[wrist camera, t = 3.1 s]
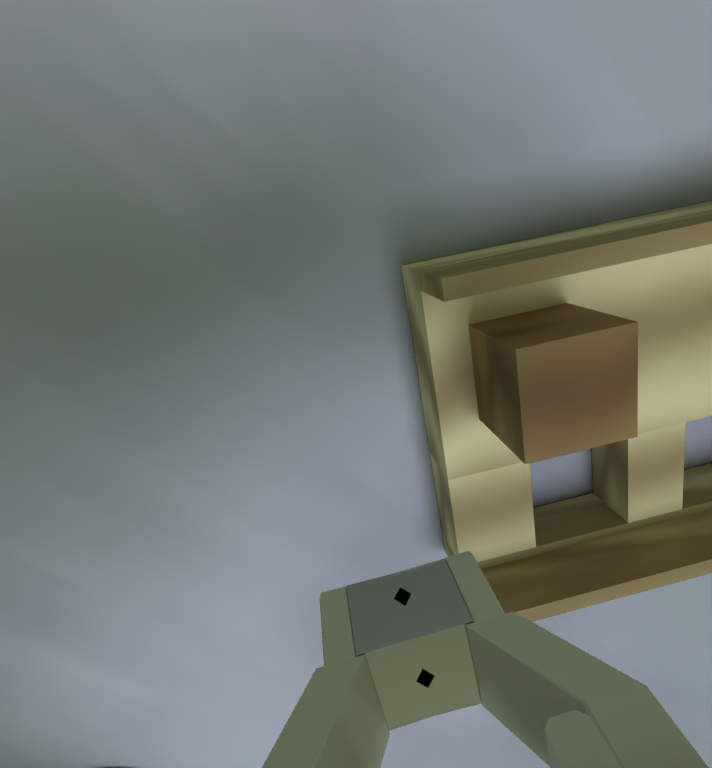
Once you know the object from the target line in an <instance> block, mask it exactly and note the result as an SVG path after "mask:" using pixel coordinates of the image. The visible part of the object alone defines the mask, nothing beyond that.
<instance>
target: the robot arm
mask: <svg viewBox="0 0 712 768" xmlns="http://www.w3.org/2000/svg"><path fill="white" fill-rule="evenodd" d="M320 612H321V626H322V641H323V656H324V666H323V667H320V668H317V669H316V670H315V672H314V674H313V676H312V677H311V679H310V681H309V683H308V685H307V686H306V688H305V690H304V692H303V694H302V696H301V697H300V699H299V701H298V703H297V705H296V707H295V708H294V710H293V712H292V714H291V716H290V717H289V719H288V721H287V723H286V725H285V727H284V728H283V730H282V732H281V734H280V736H279V737H278V739H277V741H276V743H275V745H274V747H273V748H272V750H271V752H270V754H269V756H268V757H267V759H266V761H265V763H264V765H263V767H262V768H380V766H381V762H382V759H383V755H384V752H385V748H386V745H387V741H388V738H389V731H390V730H393V729H396V728H399V727H402V726H405V725H408V724H411V723H414V722H417V721H420V720H423V719H426V718H429V717H432V716H435V715H439V714H442V713H446V712H450V711H454V710H458V709H461V708H465V707H469V706H473V705H476V704H480V703H482V705H483V706H484V707H485V708H486V709H487V710H488V711H489V712H490V713H491V714H492V715H494V716H495V717H496V718H497V719H498V720H499V721H500V722H501V723H502V724H504V725H505V726H506V727H507V728H508V729H509V730H510V731H511V732H512V733H513V734H515V735H516V736H517V737H518V738H519V739H520V740H521V741H522V742H523V743H525V744H526V745H527V746H528V747H529V748H530V749H531V750H532V751H533V752H534V753H536V754H537V755H538V756H539V757H540V758H541V759H542V760H543V761H544V762H546V763H547V764H548V765H549V766H550V768H708V766H707V765H706V764H705V762H704V761H703V760H702V758H701V757H700V756H699V754H698V753H697V752H696V750H695V749H694V748H693V746H692V745H691V744H690V743H689V741H688V740H687V739H686V737H685V736H684V735H683V733H682V732H681V731H680V729H679V728H678V727H677V725H676V724H675V723H674V721H673V720H672V719H671V717H670V716H669V715H668V713H667V712H666V711H665V710H664V708H663V707H662V706H661V704H660V703H659V702H658V700H657V699H656V698H655V696H654V695H653V694H652V692H651V691H650V690H649V688H648V687H647V686H646V685H644V684H642V683H640V682H638V681H637V680H635V679H633V678H631V677H630V676H628V675H626V674H624V673H622V672H621V671H619V670H617V669H615V668H613V667H612V666H610V665H608V664H606V663H604V662H603V661H601V660H599V659H597V658H595V657H594V656H592V655H590V654H588V653H586V652H585V651H583V650H581V649H579V648H578V647H576V646H574V645H572V644H570V643H569V642H567V641H565V640H563V639H561V638H560V637H558V636H556V635H554V634H552V633H551V632H549V631H547V630H545V629H543V628H542V627H540V626H538V625H536V624H535V623H533V622H531V621H529V620H527V619H526V618H524V617H522V616H520V615H518V614H517V613H515V612H509V613H504V611H503V609H502V607H501V605H500V603H499V602H498V600H497V598H496V596H495V594H494V592H493V591H492V589H491V587H490V585H489V583H488V581H487V579H486V578H485V576H484V574H483V572H482V570H481V568H480V567H479V565H478V563H477V561H476V559H475V557H474V556H473V554H472V553H471V552H470V551H466V552H462V553H459V554H456V555H453V556H449V557H446V558H445V559H441V560H438V561H434V562H431V563H427V564H424V565H421V566H417V567H414V568H410V569H407V570H404V571H400V572H397V573H393V574H389V575H386V576H382V577H378V578H374V579H370V580H366V581H363V582H359V583H355V584H351V585H347V587H342V588H338V589H334V590H330V591H326V592H322V593H321V595H320ZM434 713H435V714H434Z"/></svg>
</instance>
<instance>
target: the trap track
mask: <svg viewBox="0 0 712 768" xmlns="http://www.w3.org/2000/svg"><path fill="white" fill-rule="evenodd" d="M401 268H402V274H403V281H404V287H405V294H406V300H407V307H408V313H409V320H410V327H411V333H412V340H413V346H414V353H415V359H416V366H417V372H418V379H419V385H420V392H421V398H422V405H423V411H424V418H425V424H426V431H427V437H428V444H429V450H430V457H431V463H432V470H433V476H434V483H435V489H436V496H437V502H438V509H439V515H440V522H441V529H442V535H443V542H444V548H445V551H446V553H447V555H448V557H449V556H453V555H456V554H459V553H462V552H466V551H470V552H471V553H472V554H473V556H474V557H475V559H476V561H477V563H478V565H479V567H480V568H481V570H482V572H483V574H484V576H485V578H486V579H487V581H488V583H489V585H490V587H491V589H492V591H493V592H494V594H495V596H496V598H497V600H498V602H499V603H500V605H501V607H502V609H503V611H504V613H509V612H515V613H517V614H518V615H520V616H522V617H524V618H526V619H527V620H529V621H531V622H533V621H536V620H540V619H544V618H547V617H551V616H555V615H558V614H562V613H566V612H570V611H573V610H577V609H581V608H584V607H588V606H592V605H595V604H599V603H603V602H606V601H610V600H614V599H617V598H621V597H625V596H629V595H632V594H636V593H640V592H643V591H647V590H651V589H654V588H658V587H662V586H665V585H669V584H673V583H676V582H680V581H684V580H688V579H691V578H695V577H699V576H702V575H706V574H710V573H712V463H709V464H705V465H701V466H697V467H693V468H689V469H685V470H684V455H685V431H686V422H688V421H692V420H697V419H701V418H705V417H709V416H712V201H708V202H704V203H699V204H694V205H689V206H685V207H680V208H675V209H670V210H665V211H661V212H656V213H651V214H646V215H642V216H637V217H632V218H627V219H622V220H618V221H613V222H608V223H603V224H599V225H594V226H589V227H584V228H579V229H575V230H570V231H565V232H560V233H556V234H551V235H546V236H541V237H537V238H532V239H527V240H522V241H517V242H513V243H508V244H503V245H498V246H494V247H489V248H484V249H479V250H474V251H470V252H465V253H460V254H455V255H451V256H446V257H441V258H436V259H431V260H427V261H422V262H417V263H412V264H408V265H403V266H401ZM564 303H569V304H573V305H577V306H580V307H584V308H588V309H592V310H596V311H599V312H603V313H607V314H611V315H614V316H618V317H622V318H626V319H630V320H633V321H637V322H638V437H635V438H631V439H626V440H622V441H618V442H614V443H610V444H606V445H602V446H598V447H594V448H592V477H593V493H591V494H587V495H583V496H579V497H575V498H571V499H567V500H563V501H559V502H555V503H551V504H547V505H543V506H539V507H535V508H533V500H532V487H531V474H530V463H529V464H524V463H523V462H522V461H521V460H520V459H519V458H518V457H517V456H516V455H515V454H514V453H513V452H512V451H511V450H510V449H509V448H508V447H507V446H506V445H505V444H504V443H503V442H502V441H501V440H500V439H499V438H498V437H497V436H496V435H495V434H494V433H493V432H492V431H491V430H490V429H489V428H487V427H486V426H485V425H484V424H483V423H482V422H481V421H480V420H479V414H478V405H477V396H476V387H475V378H474V370H473V361H472V352H471V343H470V334H469V324H474V323H478V322H483V321H488V320H492V319H497V318H501V317H506V316H510V315H515V314H519V313H524V312H528V311H533V310H537V309H542V308H546V307H551V306H555V305H560V304H564Z"/></svg>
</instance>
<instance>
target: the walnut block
mask: <svg viewBox="0 0 712 768" xmlns="http://www.w3.org/2000/svg"><path fill="white" fill-rule="evenodd" d="M469 334H470V343H471V352H472V361H473V370H474V378H475V387H476V396H477V405H478V414H479V420H480V421H481V422H482V423H483V424H484V425H485V426H486V427H487V428H489V429H490V430H491V431H492V432H493V433H494V434H495V435H496V436H497V437H498V438H499V439H500V440H501V441H502V442H503V443H504V444H505V445H506V446H507V447H508V448H509V449H510V450H511V451H512V452H513V453H514V454H515V455H516V456H517V457H518V458H519V459H520V460H521V461H522V462H523V463H524V464H529V463H533V462H537V461H541V460H545V459H549V458H553V457H557V456H561V455H565V454H569V453H574V452H578V451H582V450H586V449H590V448H594V447H598V446H602V445H606V444H610V443H614V442H618V441H622V440H626V439H631V438H635V437H638V322H637V321H633V320H630V319H626V318H622V317H618V316H614V315H611V314H607V313H603V312H599V311H596V310H592V309H588V308H584V307H580V306H577V305H573V304H569V303H564V304H560V305H555V306H551V307H546V308H542V309H537V310H533V311H528V312H524V313H519V314H515V315H510V316H506V317H501V318H497V319H492V320H488V321H483V322H478V323H474V324H469Z"/></svg>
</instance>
